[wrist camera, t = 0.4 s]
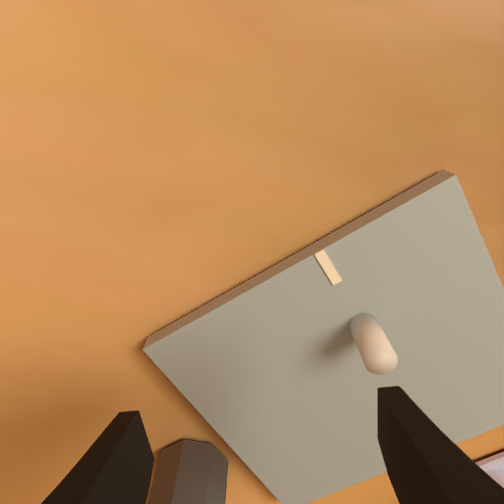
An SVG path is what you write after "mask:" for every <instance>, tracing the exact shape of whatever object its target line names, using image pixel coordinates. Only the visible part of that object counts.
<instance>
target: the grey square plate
mask: <svg viewBox="0 0 504 504" xmlns="http://www.w3.org/2000/svg"><path fill="white" fill-rule="evenodd" d="M142 350H143V351H144V352H145V353H146V354H147V356H148V357H149V358H150V359H151V360H152V361H153V362H154V363H155V364H156V366H157V367H158V368H159V369H160V370H161V371H162V372H163V373H164V374H165V376H166V377H167V378H168V379H169V380H170V381H171V382H172V383H173V384H174V385H175V387H176V388H177V389H178V390H179V391H180V392H181V393H182V394H183V395H184V397H185V398H186V399H187V400H188V401H189V402H190V403H191V404H192V405H193V406H194V408H195V409H196V410H197V411H198V412H199V413H200V414H201V415H202V416H203V418H204V419H205V420H206V421H207V422H208V423H209V424H210V425H211V426H212V427H213V429H214V430H215V431H216V432H217V433H218V434H219V435H220V436H221V437H222V439H223V440H224V441H225V442H226V443H227V444H228V445H229V446H230V447H231V448H232V450H233V451H234V452H235V453H236V454H237V455H238V456H239V457H240V458H241V460H242V461H243V462H244V463H245V464H246V465H247V466H248V467H249V468H250V470H251V471H252V472H253V473H254V474H255V475H256V476H257V477H258V478H259V479H260V481H261V482H262V483H263V484H264V485H265V486H266V487H267V488H268V489H269V491H270V492H271V493H272V494H273V495H274V496H275V497H276V498H277V499H278V500H279V502H280V503H281V504H308V503H310V502H313V501H315V500H318V499H320V498H323V497H325V496H328V495H330V494H333V493H335V492H337V491H340V490H342V489H345V488H347V487H350V486H352V485H355V484H357V483H360V482H362V481H365V480H367V479H370V478H372V477H375V476H377V475H380V474H382V473H385V472H387V469H386V466H385V463H384V459H383V456H382V453H381V449H380V446H379V442H378V437H377V388H380V387H390V386H400V387H401V388H402V389H403V390H404V391H405V392H406V393H407V395H408V396H409V397H410V398H411V399H412V400H413V401H414V402H415V403H416V404H417V406H418V407H419V408H420V409H421V410H422V411H423V412H424V413H425V414H426V415H427V416H428V417H429V418H430V419H431V420H432V421H433V423H434V424H435V425H436V426H437V427H438V428H439V429H440V430H441V431H442V432H443V433H444V434H445V435H446V436H447V437H448V438H450V439H451V440H452V441H453V442H454V443H455V444H457V443H460V442H462V441H465V440H467V439H470V438H472V437H475V436H477V435H480V434H482V433H485V432H487V431H490V430H492V429H495V428H497V427H500V426H502V425H504V288H503V286H502V283H501V281H500V278H499V276H498V274H497V271H496V269H495V266H494V264H493V262H492V259H491V257H490V255H489V252H488V250H487V247H486V245H485V243H484V240H483V238H482V236H481V233H480V231H479V228H478V226H477V224H476V221H475V219H474V216H473V214H472V212H471V209H470V207H469V205H468V202H467V200H466V197H465V195H464V193H463V190H462V188H461V186H460V183H459V181H458V178H457V176H456V175H455V174H453V173H450V172H448V171H445V170H442V171H440V172H439V173H437V174H435V175H433V176H432V177H430V178H428V179H426V180H424V181H423V182H421V183H419V184H417V185H416V186H414V187H412V188H410V189H409V190H407V191H405V192H403V193H401V194H400V195H398V196H396V197H394V198H393V199H391V200H389V201H387V202H386V203H384V204H382V205H380V206H378V207H377V208H375V209H373V210H371V211H370V212H368V213H366V214H364V215H363V216H361V217H359V218H357V219H355V220H354V221H352V222H350V223H348V224H347V225H345V226H343V227H341V228H340V229H338V230H336V231H334V232H332V233H331V234H329V235H327V236H325V237H324V238H322V239H320V240H318V241H317V242H315V243H313V244H311V245H309V246H308V247H306V248H304V249H302V250H301V251H299V252H297V253H295V254H294V255H292V256H290V257H288V258H286V259H285V260H283V261H281V262H279V263H278V264H276V265H274V266H272V267H270V268H269V269H267V270H265V271H263V272H262V273H260V274H258V275H256V276H255V277H253V278H251V279H249V280H247V281H246V282H244V283H242V284H240V285H239V286H237V287H235V288H233V289H232V290H230V291H228V292H226V293H224V294H223V295H221V296H219V297H217V298H216V299H214V300H212V301H210V302H209V303H207V304H205V305H203V306H201V307H200V308H198V309H196V310H194V311H193V312H191V313H189V314H187V315H186V316H184V317H182V318H180V319H178V320H177V321H175V322H173V323H171V324H170V325H168V326H166V327H164V328H163V329H161V330H159V331H157V332H155V333H154V334H152V335H150V336H148V338H147V340H146V342H145V344H144V347H143V349H142Z"/></svg>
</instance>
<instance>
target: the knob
mask: <svg viewBox="0 0 504 504" xmlns="http://www.w3.org/2000/svg"><path fill="white" fill-rule="evenodd" d="M227 471H228V460H227V459H226V458H225V457H224V456H223V455H222V454H221V453H220V451H219V450H218V449H217V448H216V447H215V446H214V445H213V444H211V443H205V442H198V441H192V440H186V439H183V440H181V441H179V442H177V443H175V444H173V445H171V446H169V447H167V448H165V449H163V450H161V454H160V457H159V461H158V465H157V469H156V473H155V477H154V480H153V484H152V488H151V492H150V496H149V500H148V503H147V504H225V500H226V486H227Z"/></svg>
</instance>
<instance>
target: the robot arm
mask: <svg viewBox="0 0 504 504" xmlns="http://www.w3.org/2000/svg"><path fill="white" fill-rule="evenodd" d="M377 437H378V442H379V446H380V449H381V453H382V456H383V459H384V463H385V466H386V469H387V473H388V476H389V478H390V481H391V483H392V486H393V488H394V491H395V493H396V496H397V498H398V501H399V503H400V504H504V451H503V452H501V453H498V454H496V455H493V456H491V457H488V458H485V459H483V460H480V461H478V462H474V461H473V460H471V459H470V458H469V457H468V456H467V455H466V454H465V453H464V452H463V451H462V450H461V449H460V448H459V447H458V446H457V445H456V444H455V443H454V442H453V441H452V440H451V439H450V438H448V437H447V436H446V435H445V434H444V433H443V432H442V431H441V430H440V429H439V428H438V427H437V426H436V425H435V424H434V423H433V421H432V420H431V419H430V418H429V417H428V416H427V415H426V414H425V413H424V412H423V411H422V410H421V409H420V408H419V407H418V406H417V404H416V403H415V402H414V401H413V400H412V399H411V398H410V397H409V396H408V395H407V393H406V392H405V391H404V390H403V389H402V388H401V387H400V386H390V387H380V388H377ZM153 462H154V457H153V453H152V450H151V447H150V444H149V441H148V438H147V435H146V432H145V429H144V425H143V422H142V419H141V416H140V413H139V410H138V411H128V412H119V413H118V415H117V416H116V417H115V418H114V419H113V420H112V422H111V423H110V424H109V425H108V426H107V428H106V429H105V430H104V431H103V432H102V434H101V435H100V436H99V437H98V439H97V440H96V441H95V442H94V443H93V445H92V446H91V447H90V448H89V450H88V451H87V452H86V453H85V454H84V456H83V457H82V458H81V459H80V460H79V461H78V463H77V464H76V465H75V466H74V467H73V468H72V470H71V471H70V472H69V473H68V474H67V476H66V477H65V478H64V479H63V480H62V481H61V482H60V484H59V485H58V486H57V487H56V488H55V489H54V490H53V491H52V492H51V493H50V495H49V496H48V497H47V498H46V499H45V500H44V501H43V502H42V503H41V504H145V503H146V499H147V496H148V491H149V485H150V480H151V474H152V468H153Z"/></svg>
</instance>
